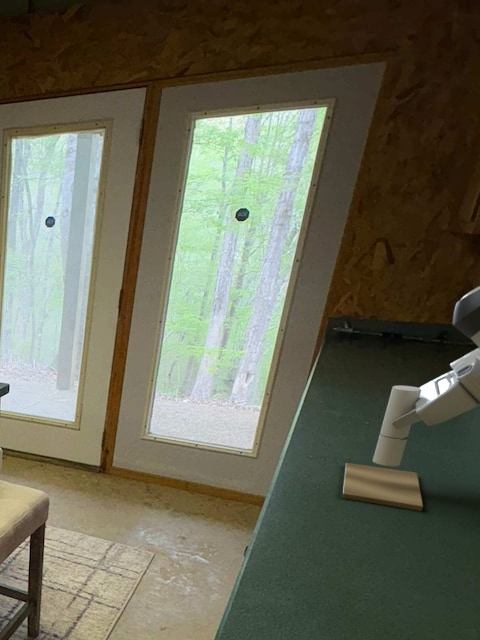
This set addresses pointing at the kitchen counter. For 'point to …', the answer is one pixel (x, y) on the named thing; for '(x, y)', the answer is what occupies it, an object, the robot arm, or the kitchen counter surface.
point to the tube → (390, 437)
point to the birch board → (382, 486)
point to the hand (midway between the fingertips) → (394, 422)
